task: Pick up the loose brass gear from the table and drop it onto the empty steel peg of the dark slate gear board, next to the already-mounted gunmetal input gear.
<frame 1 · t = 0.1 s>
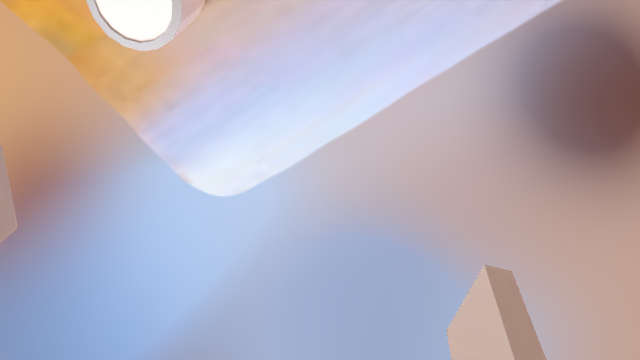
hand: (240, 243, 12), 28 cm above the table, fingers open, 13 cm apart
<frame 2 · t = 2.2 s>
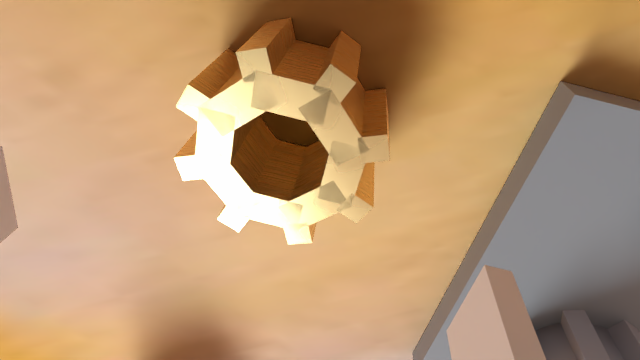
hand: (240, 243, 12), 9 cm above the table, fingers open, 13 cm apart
brass gear: (298, 110, 19), on the table
gear board: (602, 279, 22), on the table
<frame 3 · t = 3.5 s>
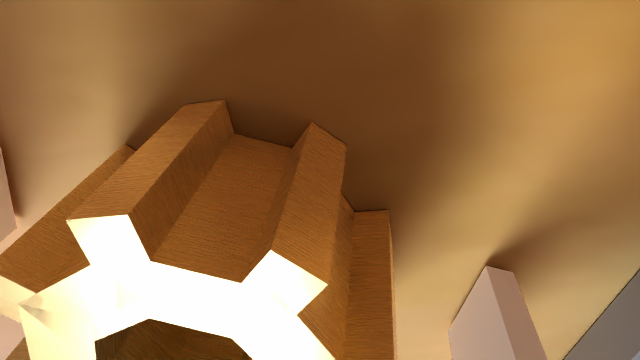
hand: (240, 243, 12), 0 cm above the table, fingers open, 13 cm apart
brass gear: (247, 235, 12), on the table
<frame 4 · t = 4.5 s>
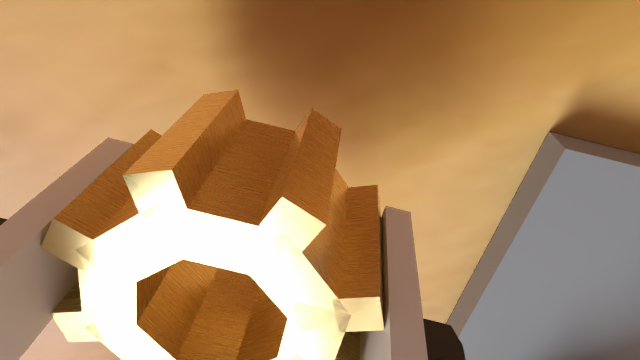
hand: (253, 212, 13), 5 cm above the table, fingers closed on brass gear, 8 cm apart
brass gear: (255, 210, 14), point 4 cm above the table, touching gripper
gear board: (598, 333, 21), on the table
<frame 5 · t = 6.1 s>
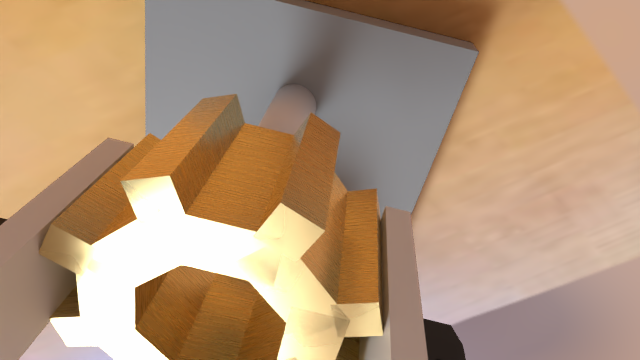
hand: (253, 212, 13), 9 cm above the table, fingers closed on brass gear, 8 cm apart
brass gear: (254, 213, 14), point 9 cm above the table, touching gripper
gear board: (283, 173, 24), on the table
when the fingers open (3 cm above the table, at t = 7.6 s): brass gear stays where it is, resting on gear board.
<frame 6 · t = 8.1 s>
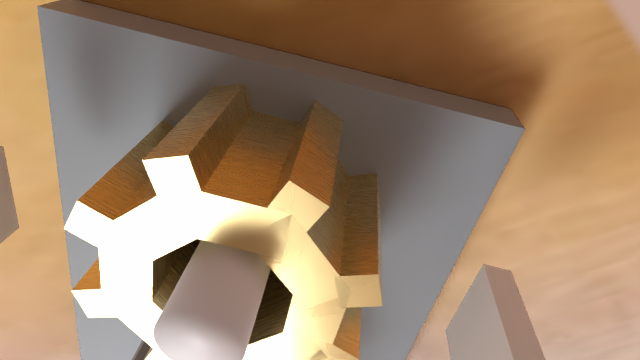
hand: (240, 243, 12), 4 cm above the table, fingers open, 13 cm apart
brass gear: (261, 197, 14), point 1 cm above the table, touching gear board
gear board: (253, 264, 18), on the table
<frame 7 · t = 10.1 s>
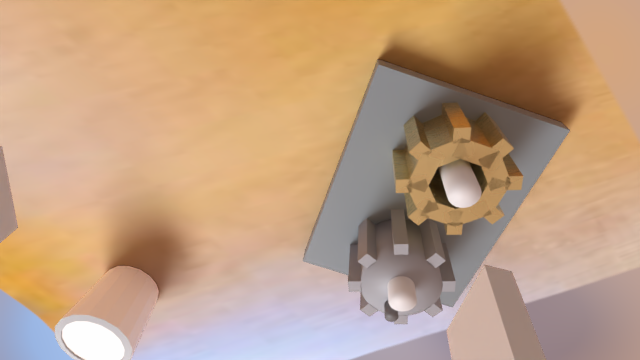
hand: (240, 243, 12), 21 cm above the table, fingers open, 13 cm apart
brass gear: (446, 154, 31), point 1 cm above the table, touching gear board
gear board: (418, 193, 35), on the table
beige cup: (132, 285, 43), on the table
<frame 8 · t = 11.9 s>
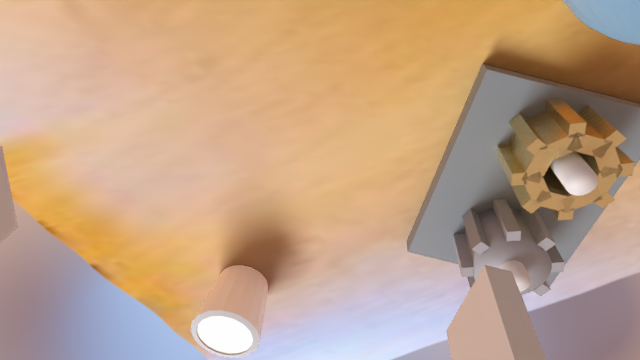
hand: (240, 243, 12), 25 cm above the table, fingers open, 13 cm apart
brass gear: (549, 145, 34), point 1 cm above the table, touching gear board
gear board: (517, 183, 38), on the table
beige cup: (243, 282, 48), on the table
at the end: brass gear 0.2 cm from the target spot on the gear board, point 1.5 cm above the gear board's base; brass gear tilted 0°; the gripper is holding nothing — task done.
